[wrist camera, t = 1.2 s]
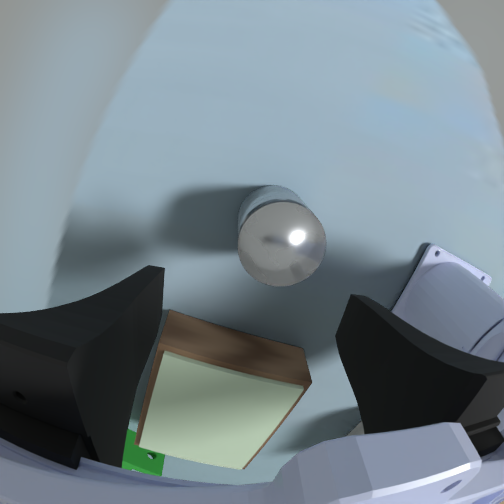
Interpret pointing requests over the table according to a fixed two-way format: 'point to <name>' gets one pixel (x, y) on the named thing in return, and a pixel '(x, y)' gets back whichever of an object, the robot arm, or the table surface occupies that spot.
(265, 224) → the grey metal cylinder
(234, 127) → the table surface
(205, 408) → the walnut stand
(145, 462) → the pipe clamp
